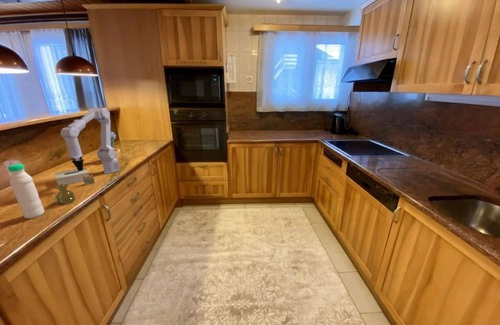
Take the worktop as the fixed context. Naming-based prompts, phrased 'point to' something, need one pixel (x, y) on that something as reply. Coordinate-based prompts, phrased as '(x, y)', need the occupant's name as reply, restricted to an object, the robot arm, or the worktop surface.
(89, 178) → the wooden block
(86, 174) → the box
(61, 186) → the olive green lumpy piece
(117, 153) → the potted cactus
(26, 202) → the white bottle
